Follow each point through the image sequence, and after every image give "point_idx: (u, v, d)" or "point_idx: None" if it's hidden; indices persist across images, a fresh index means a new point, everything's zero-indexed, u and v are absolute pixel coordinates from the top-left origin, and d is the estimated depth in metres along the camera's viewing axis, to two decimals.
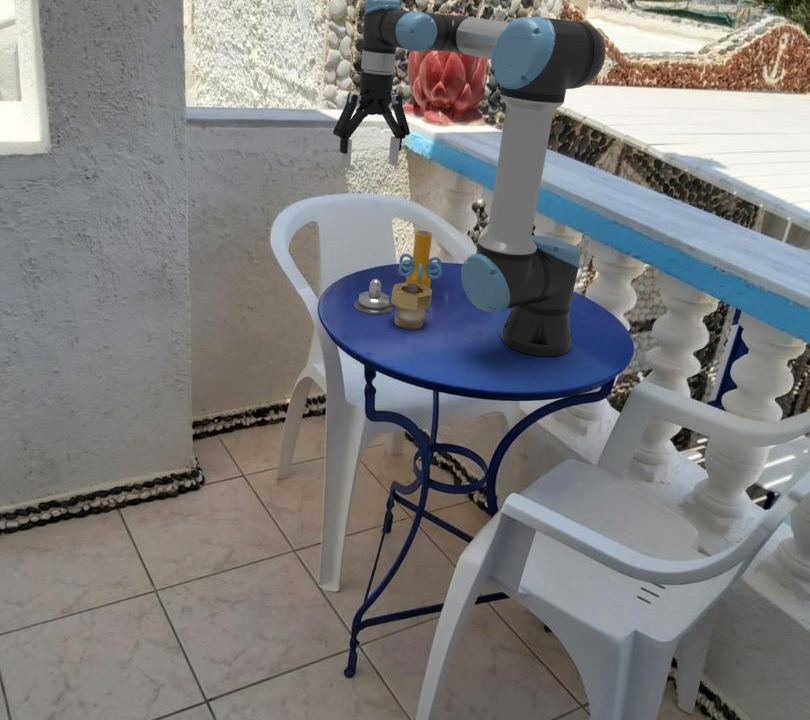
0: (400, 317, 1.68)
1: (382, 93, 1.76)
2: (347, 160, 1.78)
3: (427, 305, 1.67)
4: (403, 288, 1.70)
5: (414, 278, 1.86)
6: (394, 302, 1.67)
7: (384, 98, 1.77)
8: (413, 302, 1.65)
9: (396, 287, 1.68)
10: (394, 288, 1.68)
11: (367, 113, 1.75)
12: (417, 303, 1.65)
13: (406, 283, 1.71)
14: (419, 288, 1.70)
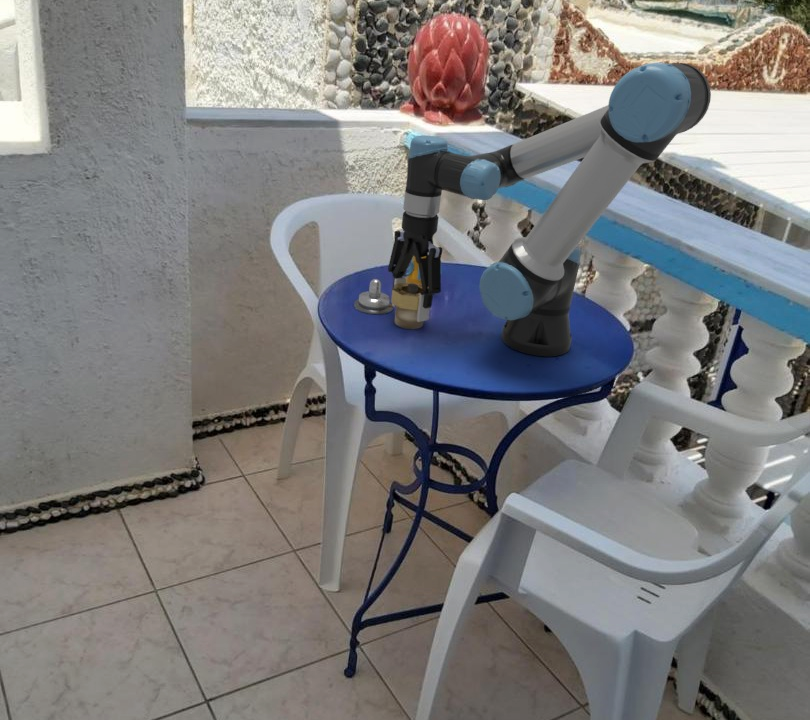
0: (400, 317, 1.68)
1: (417, 235, 1.61)
2: None
3: None
4: (403, 288, 1.70)
5: (414, 278, 1.86)
6: (394, 302, 1.67)
7: (419, 241, 1.61)
8: (413, 302, 1.65)
9: (396, 287, 1.68)
10: (394, 288, 1.68)
11: (403, 252, 1.65)
12: (417, 303, 1.65)
13: (406, 283, 1.71)
14: (419, 288, 1.70)
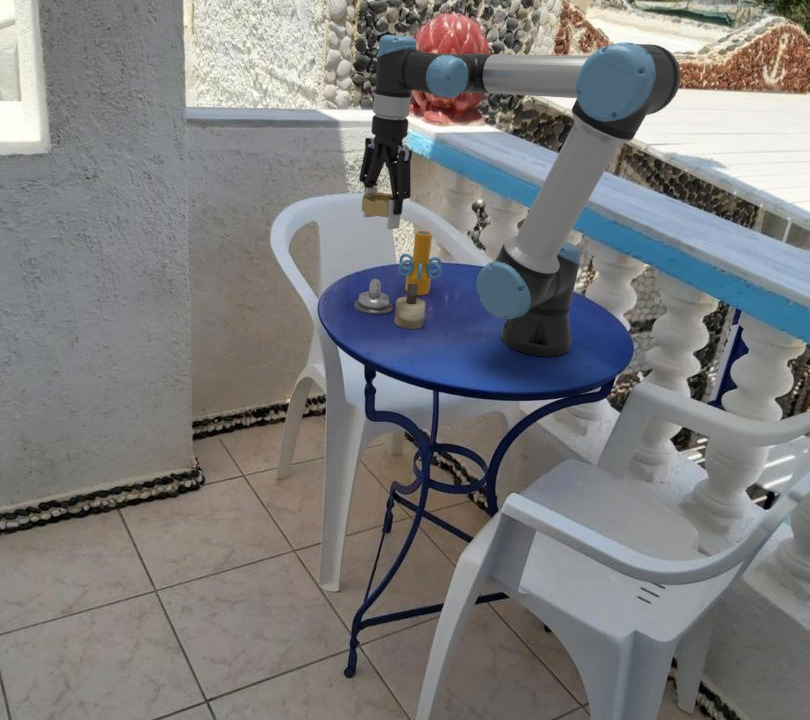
0: (400, 317, 1.68)
1: (387, 139, 1.60)
2: None
3: None
4: (374, 197, 1.68)
5: (414, 278, 1.86)
6: (364, 210, 1.66)
7: (389, 145, 1.60)
8: (383, 208, 1.64)
9: (367, 195, 1.67)
10: (364, 196, 1.66)
11: (373, 158, 1.64)
12: (387, 209, 1.64)
13: (377, 193, 1.70)
14: (390, 197, 1.69)
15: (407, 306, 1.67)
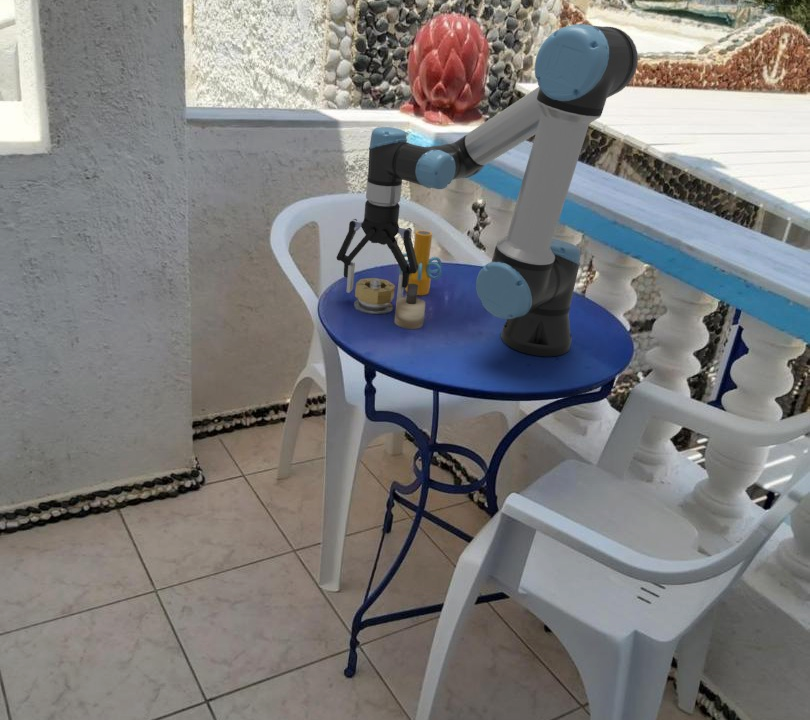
0: (400, 317, 1.68)
1: (384, 223, 1.68)
2: (347, 284, 1.76)
3: (393, 295, 1.77)
4: None
5: (414, 278, 1.86)
6: (367, 301, 1.73)
7: (387, 229, 1.68)
8: (387, 296, 1.73)
9: (362, 286, 1.74)
10: (362, 287, 1.73)
11: (365, 241, 1.70)
12: (390, 296, 1.74)
13: (361, 280, 1.77)
14: None
15: (407, 306, 1.67)
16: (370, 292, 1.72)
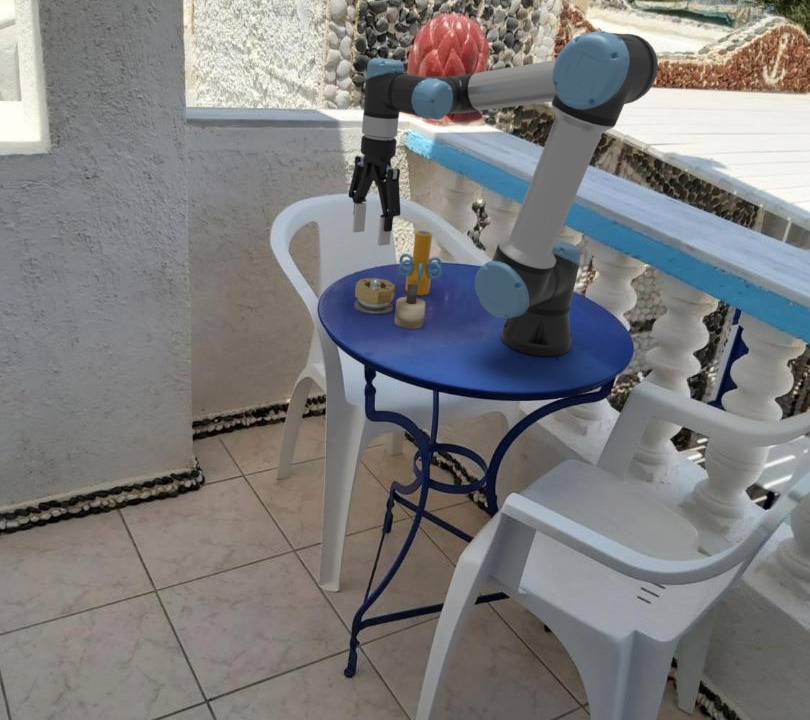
0: (400, 317, 1.68)
1: (376, 159, 1.64)
2: None
3: (393, 295, 1.77)
4: None
5: (414, 278, 1.86)
6: (367, 301, 1.73)
7: (377, 164, 1.64)
8: (387, 296, 1.73)
9: (362, 286, 1.74)
10: (362, 287, 1.73)
11: (363, 176, 1.68)
12: (390, 296, 1.74)
13: (361, 280, 1.77)
14: None
15: (407, 306, 1.67)
16: (370, 292, 1.72)
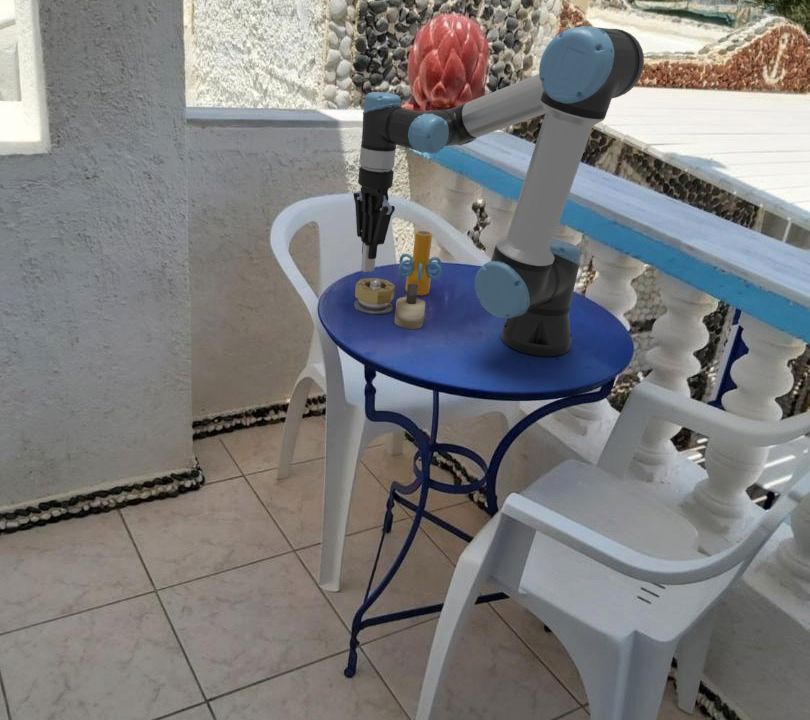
0: (400, 317, 1.68)
1: (373, 189, 1.67)
2: None
3: (393, 295, 1.77)
4: None
5: (414, 278, 1.86)
6: (367, 301, 1.73)
7: (375, 195, 1.67)
8: (387, 296, 1.73)
9: (362, 286, 1.74)
10: (362, 287, 1.73)
11: (363, 209, 1.71)
12: (390, 296, 1.74)
13: (361, 280, 1.77)
14: None
15: (407, 306, 1.67)
16: (370, 292, 1.72)
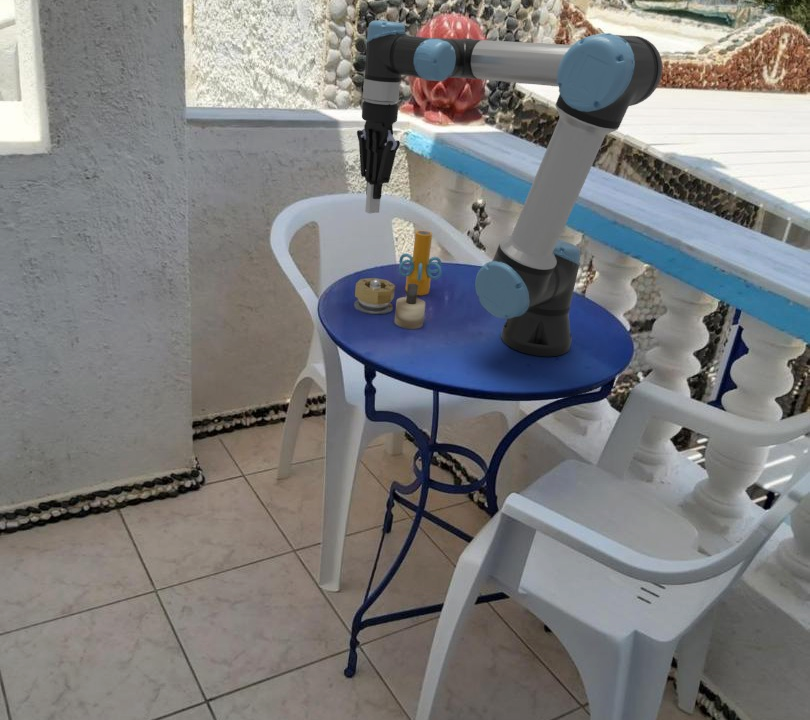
0: (400, 317, 1.68)
1: (377, 124, 1.61)
2: None
3: (393, 295, 1.77)
4: None
5: (414, 278, 1.86)
6: (367, 301, 1.73)
7: (379, 130, 1.61)
8: (387, 296, 1.73)
9: (362, 286, 1.74)
10: (362, 287, 1.73)
11: (367, 146, 1.64)
12: (390, 296, 1.74)
13: (361, 280, 1.77)
14: None
15: (407, 306, 1.67)
16: (370, 292, 1.72)
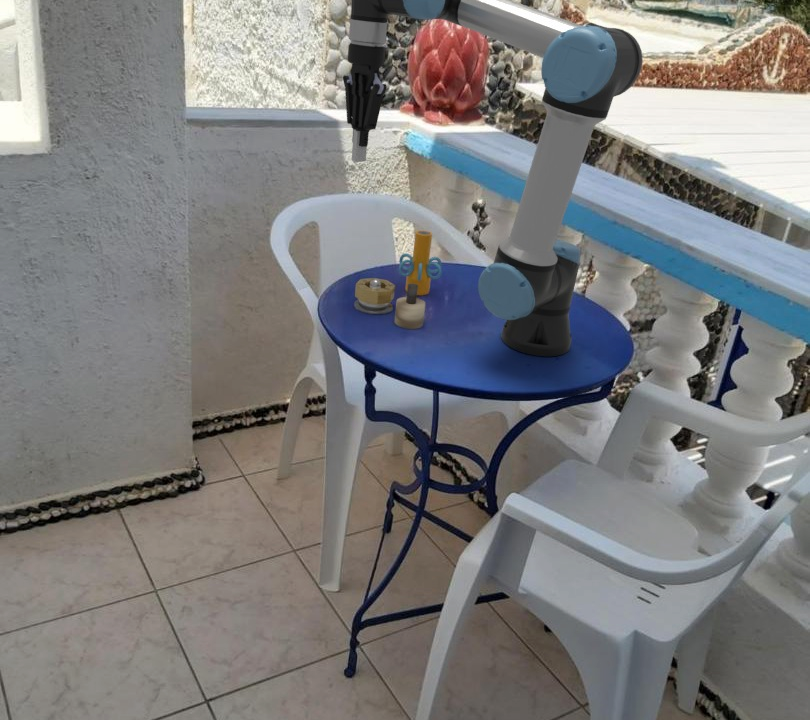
0: (400, 317, 1.68)
1: (364, 67, 1.57)
2: None
3: (393, 295, 1.77)
4: None
5: (414, 278, 1.86)
6: (367, 301, 1.73)
7: (365, 74, 1.57)
8: (387, 296, 1.73)
9: (362, 286, 1.74)
10: (362, 287, 1.73)
11: (354, 91, 1.60)
12: (390, 296, 1.74)
13: (361, 280, 1.77)
14: None
15: (407, 306, 1.67)
16: (370, 292, 1.72)
